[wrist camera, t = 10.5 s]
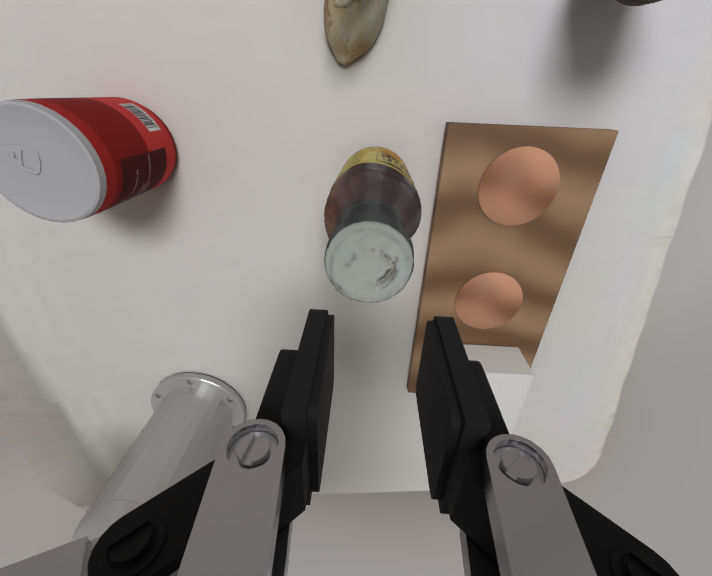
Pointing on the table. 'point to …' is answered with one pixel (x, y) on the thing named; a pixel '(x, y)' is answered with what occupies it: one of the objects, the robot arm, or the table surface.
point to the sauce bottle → (371, 226)
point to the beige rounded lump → (353, 26)
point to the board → (506, 229)
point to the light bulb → (636, 2)
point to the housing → (504, 377)
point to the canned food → (80, 154)
